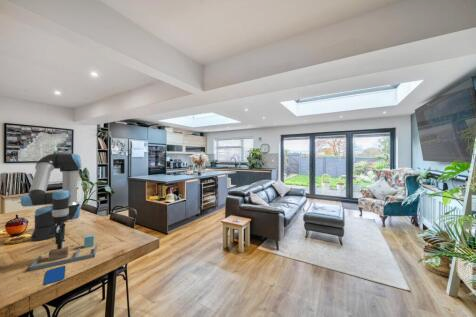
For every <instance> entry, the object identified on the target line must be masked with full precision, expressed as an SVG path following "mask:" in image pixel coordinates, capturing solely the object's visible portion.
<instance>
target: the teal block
mask: <svg viewBox="0 0 476 317" xmlns="http://www.w3.org/2000/svg"><path fill="white" fill-rule="evenodd" d="M92 247H95V233H90V234H86V235H85V236H84V238H83V248H84V249H86V248H92Z"/></svg>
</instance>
